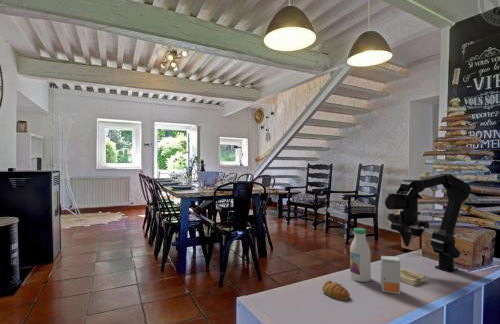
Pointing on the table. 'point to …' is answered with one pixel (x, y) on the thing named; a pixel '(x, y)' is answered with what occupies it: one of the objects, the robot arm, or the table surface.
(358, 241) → the milk bottle
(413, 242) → the cube
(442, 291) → the table surface
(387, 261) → the skincare box
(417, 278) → the plinth
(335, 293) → the pastry
